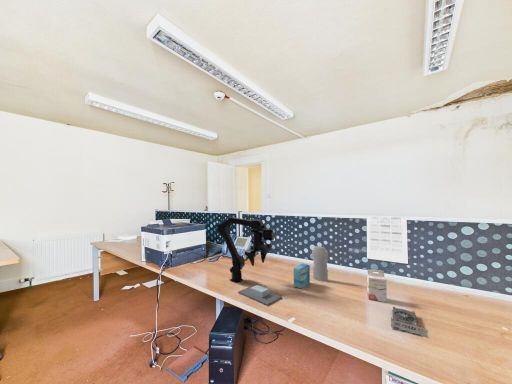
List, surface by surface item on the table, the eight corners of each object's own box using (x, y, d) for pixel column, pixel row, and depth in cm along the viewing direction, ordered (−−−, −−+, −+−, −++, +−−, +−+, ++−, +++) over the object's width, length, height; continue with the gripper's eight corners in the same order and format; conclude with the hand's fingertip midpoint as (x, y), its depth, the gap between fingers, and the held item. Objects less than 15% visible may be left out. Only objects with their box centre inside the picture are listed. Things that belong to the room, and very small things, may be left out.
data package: (300, 289, 129) (299, 269, 129) (293, 287, 132) (293, 267, 132) (310, 283, 138) (309, 264, 138) (303, 281, 141) (303, 262, 141)
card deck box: (261, 297, 117) (261, 292, 117) (250, 293, 123) (250, 287, 123) (268, 294, 121) (268, 289, 121) (257, 290, 127) (257, 284, 127)
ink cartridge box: (368, 299, 115) (368, 271, 116) (367, 295, 120) (366, 268, 120) (387, 302, 112) (386, 273, 113) (385, 298, 117) (384, 270, 117)
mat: (238, 293, 125) (238, 291, 125) (252, 286, 134) (252, 285, 134) (267, 306, 110) (267, 304, 110) (281, 297, 118) (281, 296, 118)
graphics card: (428, 331, 84) (391, 321, 90) (428, 340, 83) (391, 330, 90) (422, 311, 98) (390, 304, 104) (422, 320, 98) (390, 312, 104)
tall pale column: (311, 278, 145) (310, 245, 146) (313, 277, 149) (313, 244, 149) (327, 282, 139) (326, 247, 140) (329, 280, 143) (328, 246, 143)
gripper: (257, 243, 127) (257, 270, 127) (277, 239, 140) (277, 263, 140) (243, 241, 135) (244, 266, 134) (263, 237, 148) (264, 260, 148)
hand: (258, 264), depth 139 cm, fingers open, 9 cm apart
